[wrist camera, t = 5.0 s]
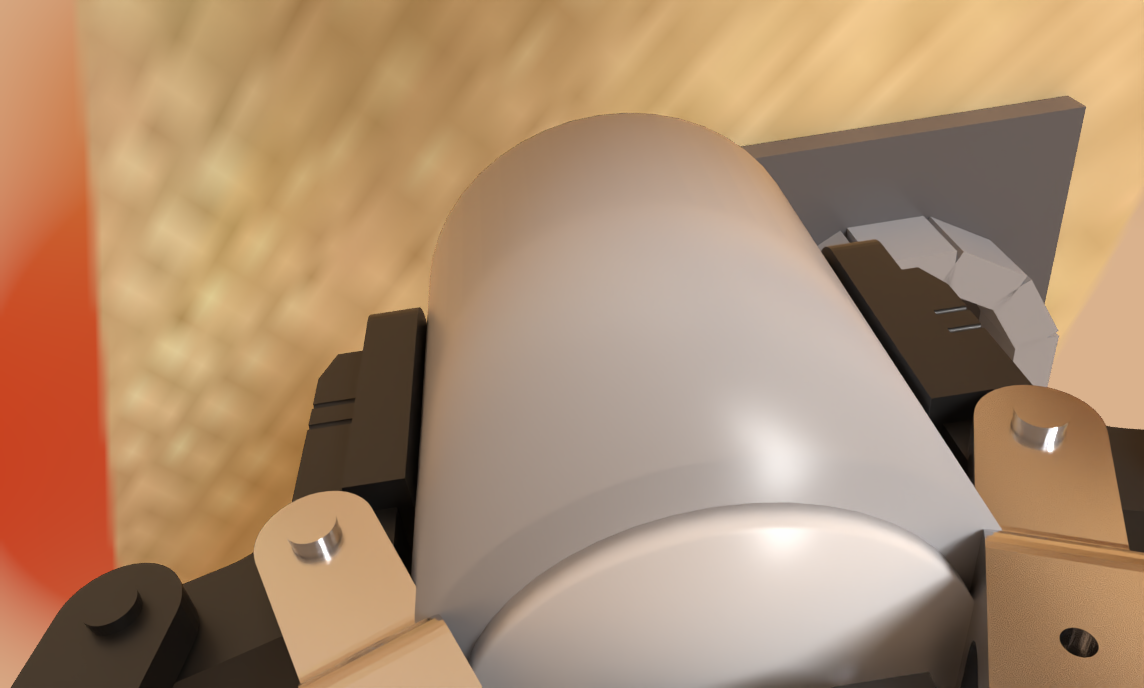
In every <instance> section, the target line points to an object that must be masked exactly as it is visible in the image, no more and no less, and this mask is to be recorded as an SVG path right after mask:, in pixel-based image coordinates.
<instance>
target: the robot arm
mask: <svg viewBox="0 0 1144 688" xmlns="http://www.w3.org/2000/svg"><path fill="white" fill-rule="evenodd" d="M821 252H822V254H823V255H824V257H825V259H826V260H827V262H828V263H829V265H830V266H831V268H832V269H833V271H834V272H835V274H836V275H837V277H838V279H839V280H840V282H841V283H842V285H843V286H844V288H845V289H846V291H847V292H848V294H849V295H850V297H851V298H852V300H853V302H854V303H855V305H856V306H857V308H858V309H859V311H860V312H861V314H862V315H863V317H864V318H865V320H866V322H867V323H868V325H869V326H870V328H871V329H872V331H873V332H874V334H875V335H876V337H877V338H878V340H879V341H880V343H881V345H882V346H883V348H884V349H885V351H886V352H887V354H888V355H889V357H890V358H891V360H892V361H893V363H894V364H895V366H896V368H897V369H898V371H899V372H900V374H901V375H902V377H903V378H904V380H905V381H906V383H907V384H908V386H909V388H910V389H911V391H912V392H913V394H914V395H915V397H916V398H917V400H918V401H919V403H920V404H921V406H922V407H923V409H924V411H925V412H926V414H927V415H928V417H929V418H930V420H931V421H932V423H933V424H934V426H935V427H936V429H937V431H938V432H939V434H940V435H941V437H942V438H943V440H944V441H945V443H946V444H947V446H948V447H949V449H950V450H951V452H952V454H953V455H954V457H955V458H956V460H957V461H958V463H959V464H960V466H961V467H962V469H963V470H964V472H965V473H966V475H967V477H968V478H969V480H970V481H971V483H972V484H973V486H974V487H975V489H976V490H977V492H978V493H979V495H980V497H981V498H982V500H983V501H984V503H985V504H986V506H987V507H988V509H989V510H990V512H991V513H992V515H993V516H994V518H995V520H996V521H997V523H998V524H999V526H1000V527H1001V529H1002V530H1003V531H1002V530H992V529H983V533H982V537H981V542H980V546H979V551H978V556H977V560H976V565H975V569H974V574H973V579H972V583H971V588H970V592H969V593H970V594H971V596H972V598H973V600H974V606H973V611H972V615H971V620H970V624H969V628H968V633H967V637H966V642H965V646H964V651H963V655H962V660H961V664H960V668H959V673H958V677H957V682H956V686H955V688H1144V430H1140V429H1126V428H1117V427H1110V426H1106V425H1105V423H1104V421H1103V419H1102V418H1101V416H1100V415H1099V414H1098V413H1097V412H1096V411H1095V410H1094V409H1093V408H1092V407H1090V406H1089V405H1088V404H1087V403H1085V402H1083V401H1082V400H1080V399H1078V398H1076V397H1074V396H1072V395H1070V394H1067V393H1065V392H1062V391H1059V390H1056V389H1052V388H1048V387H1042V386H1036V385H1032V384H1031V382H1030V381H1029V380H1028V379H1027V378H1026V376H1025V375H1024V374H1023V373H1022V372H1021V370H1020V369H1019V368H1018V367H1017V366H1016V364H1015V363H1014V362H1013V361H1012V360H1011V358H1010V357H1009V356H1008V355H1007V354H1006V353H1005V351H1004V350H1003V349H1002V348H1001V347H1000V345H999V344H998V343H997V342H996V341H995V339H994V338H993V337H992V336H991V335H990V333H989V332H988V331H987V330H986V329H985V328H982V327H981V323H980V321H979V320H978V319H977V318H976V317H975V315H974V314H973V313H972V312H971V311H970V310H967V309H966V305H965V304H964V302H963V301H962V300H961V299H960V298H959V296H958V295H957V294H956V293H955V292H954V290H953V289H952V288H951V287H950V286H949V284H947V283H946V282H944V281H942V280H940V279H938V278H937V277H935V276H933V275H931V274H929V273H928V272H926V271H924V270H922V269H920V268H919V267H915V268H909V269H901V268H900V267H899V265H898V264H897V263H896V262H895V260H894V259H893V258H892V256H891V255H890V254H889V253H888V251H887V250H886V249H885V247H884V246H883V245H882V244H881V242H880V241H878V240H876V239H872V240H866V241H859V242H853V243H846V244H839V245H833V246H826V247H824V248H823V249H822V251H821ZM426 332H427V322H426V319H425V316H424V313H423V311H422V309H421V308H420V307H419V308H412V309H406V310H399V311H393V312H386V313H380V314H373V315H370V316H369V318H368V322H367V329H366V335H365V341H364V348H363V351H358V352H351V353H345V354H338V355H337V356H336V358H335V359H334V360H333V362H332V363H331V364H330V365H329V367H328V368H327V369H326V370H325V372H324V373H323V374H322V375H321V377H320V378H319V380H318V384H317V389H316V394H315V398H314V403H313V405H314V409H312V412H311V417H310V421H309V430H307V435H306V440H305V444H304V449H303V453H302V458H301V463H300V467H299V472H298V476H297V481H296V486H295V490H294V495H293V499H292V503H290V504H288V505H287V506H285V507H284V508H282V509H281V510H279V511H278V512H277V513H276V514H275V515H273V516H272V517H271V518H270V519H269V520H268V522H267V523H266V524H265V525H264V526H263V528H262V529H261V531H260V532H259V535H258V537H257V539H256V542H255V546H254V553H252V554H250V555H249V556H247V557H245V558H244V559H242V560H240V561H238V562H236V563H233V564H231V565H229V566H227V567H224V568H222V569H219V570H217V571H214V572H212V573H209V574H207V575H204V576H202V577H200V578H197V579H195V580H192V581H190V582H187V583H185V584H182V583H181V581H180V579H179V578H178V576H177V575H176V573H175V572H173V571H172V570H171V569H170V568H167V567H165V566H163V565H159V564H155V563H139V564H132V565H128V566H123V567H120V568H118V569H115V570H112V571H110V572H108V573H105V574H103V575H101V576H100V577H98V578H96V579H94V580H93V581H91V582H89V583H88V584H87V585H85V586H84V587H83V588H81V589H80V590H79V591H78V592H76V594H74V595H73V596H72V597H71V598H70V599H69V600H68V601H67V602H66V603H65V605H64V606H63V607H62V608H61V610H60V611H59V612H58V614H57V615H56V617H55V618H54V620H53V621H52V623H51V625H50V626H49V628H48V629H47V631H46V633H45V634H44V636H43V637H42V639H41V641H40V642H39V644H38V645H37V647H36V648H35V650H34V652H33V653H32V655H31V656H30V658H29V659H28V661H27V663H26V664H25V666H24V667H23V669H22V670H21V672H20V674H19V675H18V677H17V679H16V680H15V682H14V683H13V685H12V687H11V688H483V687H482V685H481V684H480V682H479V680H478V678H477V677H476V675H475V673H474V671H473V670H472V668H471V666H470V665H469V663H468V661H467V659H466V658H465V656H464V654H463V652H462V651H461V649H460V647H459V645H458V644H457V642H456V640H455V638H454V637H453V635H452V633H451V631H450V630H449V628H448V626H447V625H446V623H445V622H444V620H443V619H442V617H441V616H440V615H439V614H436V615H433V616H431V617H429V618H425V619H423V620H421V621H419V622H417V623H415V600H416V586H415V584H414V582H413V580H412V579H411V569H412V553H413V537H414V521H415V505H416V490H417V474H418V458H419V442H420V427H421V411H422V395H423V379H424V364H425V348H426ZM832 688H937V687H936V685H935V683H934V681H933V679H932V677H931V675H930V673H929V672H924V673H917V674H911V675H904V676H898V677H892V678H885V679H879V680H873V681H866V682H860V683H854V684H847V685H841V686H835V687H832Z"/></svg>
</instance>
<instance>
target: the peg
mask: <svg viewBox="0 0 1144 688" xmlns="http://www.w3.org/2000/svg"><path fill="white" fill-rule="evenodd" d="M983 529H992V530H1002V529H1001V527H1000V526H999V524H998V523H997V521H996V520H995V518H994V516H993V515H992V513H991V512H990V510H989V509H988V507H987V506H986V504H985V503H984V501H983V500H982V498H981V497H980V495H979V493H978V492H977V490H976V489H975V487H974V486H973V484H972V483H971V481H970V480H969V478H968V477H967V475H966V473H965V472H964V470H963V469H962V467H961V466H960V464H959V463H958V461H957V460H956V458H955V457H954V455H953V454H952V452H951V450H950V449H949V447H948V446H947V444H946V443H945V441H944V440H943V438H942V437H941V435H940V434H939V432H938V431H937V429H936V427H935V426H934V424H933V423H932V421H931V420H930V418H929V417H928V415H927V414H926V412H925V411H924V409H923V407H922V406H921V404H920V403H919V401H918V400H917V398H916V397H915V395H914V394H913V392H912V391H911V389H910V388H909V386H908V384H907V383H906V381H905V380H904V378H903V377H902V375H901V374H900V372H899V371H898V369H897V368H896V366H895V364H894V363H893V361H892V360H891V358H890V357H889V355H888V354H887V352H886V351H885V349H884V348H883V346H882V345H881V343H880V341H879V340H878V338H877V337H876V335H875V334H874V332H873V331H872V329H871V328H870V326H869V325H868V323H867V322H866V320H865V318H864V317H863V315H862V314H861V312H860V311H859V309H858V308H857V306H856V305H855V303H854V302H853V300H852V298H851V297H850V295H849V294H848V292H847V291H846V289H845V288H844V286H843V285H842V283H841V282H840V280H839V279H838V277H837V275H836V274H835V272H834V271H833V269H832V268H831V266H830V265H829V263H828V262H827V260H826V259H825V257H824V255H823V254H822V252H821V251H820V249H819V248H818V246H817V245H816V243H815V242H814V240H813V239H812V237H811V236H810V234H809V232H808V231H807V229H806V228H805V226H804V225H803V223H802V222H801V220H800V219H799V217H798V216H797V214H796V213H795V211H794V209H793V208H792V206H791V205H790V203H789V202H788V200H787V199H786V197H785V196H784V194H783V193H782V191H781V189H780V188H779V186H778V185H777V183H776V182H775V181H774V180H773V178H772V177H771V176H770V175H769V173H768V172H767V171H766V170H765V168H764V167H763V166H762V165H761V164H760V163H759V162H758V161H757V160H756V159H754V158H753V157H752V156H751V155H750V154H749V153H748V152H747V151H746V150H744V149H743V148H741V147H740V146H738V145H737V144H735V143H734V142H732V141H731V140H729V139H728V138H726V137H725V136H723V135H720V134H718V133H716V132H714V131H712V130H710V129H708V128H706V127H704V126H701V125H698V124H694V123H691V122H688V121H685V120H682V119H679V118H673V117H667V116H661V115H656V114H640V113H619V114H608V115H597V116H593V117H588V118H584V119H579V120H574V121H570V122H567V123H565V124H562V125H559V126H556V127H553V128H550V129H547V130H545V131H543V132H541V133H539V134H537V135H535V136H533V137H531V138H529V139H527V140H525V141H523V142H521V143H519V144H518V145H516V146H515V147H513V148H512V149H510V150H509V151H507V152H506V153H504V154H503V155H501V156H500V157H499V158H497V159H496V160H495V161H494V162H493V163H492V164H491V165H489V166H488V167H487V168H486V169H485V170H484V171H483V172H481V173H480V174H479V175H478V176H477V178H476V179H475V180H474V181H473V182H472V183H471V184H470V186H469V187H468V188H467V189H466V190H465V191H464V192H463V194H462V195H461V197H460V198H459V200H458V201H457V203H456V204H455V206H454V207H453V209H452V210H451V212H450V213H449V215H448V218H447V220H446V222H445V224H444V226H443V228H442V230H441V233H440V235H439V238H438V241H437V245H436V248H435V251H434V255H433V260H432V267H431V274H430V285H429V301H428V316H427V332H426V348H425V364H424V379H423V395H422V411H421V427H420V442H419V458H418V474H417V490H416V505H415V521H414V537H413V553H412V569H411V579H412V580H413V582H414V584H415V586H416V600H415V623H417V622H419V621H421V620H423V619H425V618H429V617H431V616H433V615H436V614H439V615H440V616H441V617H442V619H443V620H444V622H445V623H446V625H447V626H448V628H449V630H450V631H451V633H452V635H453V637H454V638H455V640H456V642H457V644H458V645H459V647H460V649H461V651H462V652H463V654H464V656H465V658H466V659H467V661H468V663H469V665H470V666H471V668H472V670H473V671H474V673H475V675H476V677H477V678H478V680H479V682H480V684H481V685H482V687H483V688H832V687H835V686H841V685H847V684H854V683H860V682H866V681H873V680H879V679H885V678H892V677H898V676H904V675H911V674H917V673H924V672H929V673H930V675H931V677H932V679H933V681H934V683H935V685H936V687H937V688H955V686H956V682H957V677H958V673H959V668H960V664H961V660H962V655H963V651H964V646H965V642H966V637H967V633H968V628H969V624H970V620H971V615H972V611H973V606H974V600H973V598H972V596H971V594H970V593H969V592H970V588H971V583H972V579H973V574H974V569H975V565H976V560H977V556H978V551H979V546H980V542H981V537H982V533H983ZM1002 531H1003V530H1002Z"/></svg>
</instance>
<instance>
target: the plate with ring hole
mask: <svg viewBox="0 0 1144 688" xmlns="http://www.w3.org/2000/svg"><path fill="white" fill-rule="evenodd" d="M1085 109H1086V106H1084V105H1082V104H1081V103H1079V102H1077V101H1076V100H1074V99H1072V98H1071V97H1069V96H1063V97H1057V98H1051V99H1044V100H1038V101H1031V102H1025V103H1019V104H1012V105H1006V106H999V107H993V108H986V109H980V110H974V111H967V112H961V113H954V114H948V115H941V116H935V117H929V118H922V119H916V120H909V121H903V122H897V123H890V124H884V125H877V126H871V127H864V128H858V129H852V130H845V131H839V132H832V133H826V134H819V135H813V136H807V137H800V138H794V139H787V140H781V141H775V142H768V143H762V144H755V145H749V146H742V147H741V148H743V149H744V150H746V151H747V152H748V153H749V154H750V155H751V156H752V157H753V158H754V159H756V160H757V161H758V162H759V163H760V164H761V165H762V166H763V167H764V168H765V170H766V171H767V172H768V173H769V175H770V176H771V177H772V178H773V180H774V181H775V182H776V183H777V185H778V186H779V188H780V189H781V191H782V193H783V194H784V196H785V197H786V199H787V200H788V202H789V203H790V205H791V206H792V208H793V209H794V211H795V213H796V214H797V216H798V217H799V219H800V220H801V222H802V223H803V225H804V226H805V228H806V229H807V231H808V232H809V234H810V236H811V237H812V239H813V240H814V242H815V243H816V245H817V246H818V248H819V249H820V251H822V249H823V248H824V247H826V246H833V245H839V244H846V243H853V242H859V241H866V240H872V239H876V240H878V241H880V242H881V244H882V245H883V246H884V247H885V249H886V250H887V251H888V253H889V254H890V255H891V256H892V258H893V259H894V260H895V262H896V263H897V264H898V265H899V267H900V268H901V269H909V268H915V267H919V268H920V269H922V270H924V271H926V272H928V273H929V274H931V275H933V276H935V277H937V278H938V279H940V280H942V281H944V282H946V283H947V284H949V286H950V287H951V288H952V289H953V290H954V292H955V293H956V294H957V295H958V296H959V298H960V299H961V300H962V301H963V302H964V304H965V305H966V309H967V310H970V311H971V312H972V313H973V314H974V315H975V317H976V318H977V319H978V320H979V321H980V323H981V327H982V328H985V329H986V330H987V331H988V332H989V333H990V335H991V336H992V337H993V338H994V339H995V341H996V342H997V343H998V344H999V345H1000V347H1001V348H1002V349H1003V350H1004V351H1005V353H1006V354H1007V355H1008V356H1009V357H1010V358H1011V360H1012V361H1013V362H1014V363H1015V364H1016V366H1017V367H1018V368H1019V369H1020V370H1021V372H1022V373H1023V374H1024V375H1025V376H1026V378H1027V379H1028V380H1029V381H1030V382H1031V384H1032V385H1036V386H1042V387H1047V386H1048V382H1049V377H1050V373H1051V368H1052V364H1053V360H1054V355H1055V351H1056V346H1057V342H1058V338H1059V336H1058V335H1057V334H1056V332H1057V331H1058V329H1057V327H1056V325H1055V324H1054V322H1053V320H1052V318H1051V316H1050V314H1049V312H1048V310H1047V308H1046V306H1045V299H1046V294H1047V289H1048V285H1049V280H1050V275H1051V270H1052V266H1053V261H1054V256H1055V251H1056V247H1057V242H1058V237H1059V232H1060V228H1061V223H1062V218H1063V213H1064V209H1065V204H1066V199H1067V194H1068V190H1069V185H1070V180H1071V175H1072V171H1073V166H1074V161H1075V156H1076V152H1077V147H1078V142H1079V137H1080V133H1081V128H1082V123H1083V118H1084V114H1085Z"/></svg>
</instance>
